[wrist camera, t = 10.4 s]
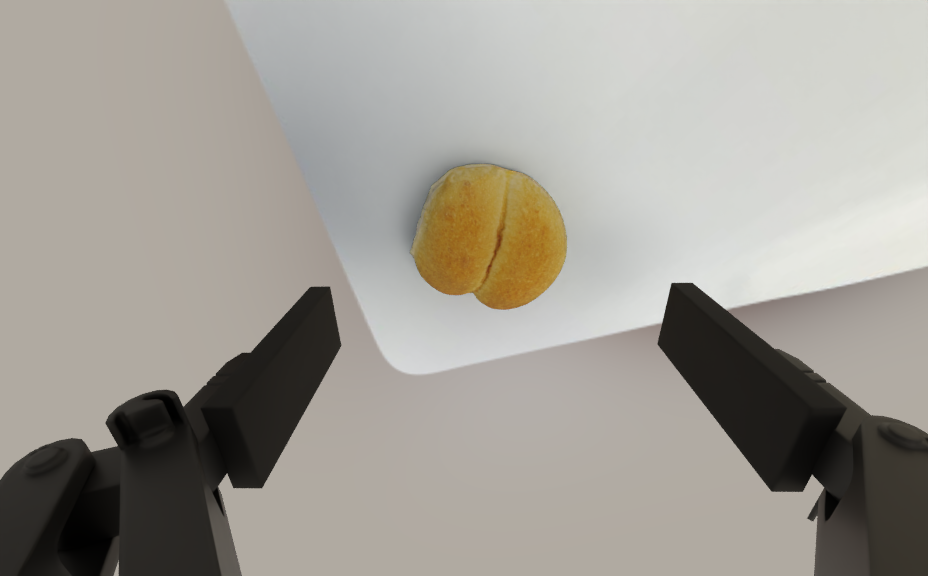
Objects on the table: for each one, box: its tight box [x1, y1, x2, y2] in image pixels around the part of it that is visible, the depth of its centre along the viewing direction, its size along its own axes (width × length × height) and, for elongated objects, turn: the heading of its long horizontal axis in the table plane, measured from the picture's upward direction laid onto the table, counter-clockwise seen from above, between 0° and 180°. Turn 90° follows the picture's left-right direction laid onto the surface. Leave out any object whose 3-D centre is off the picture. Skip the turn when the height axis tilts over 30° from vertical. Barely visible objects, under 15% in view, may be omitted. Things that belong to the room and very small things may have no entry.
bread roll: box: [410, 164, 567, 310], centre depth 22 cm, size 8×9×4 cm
